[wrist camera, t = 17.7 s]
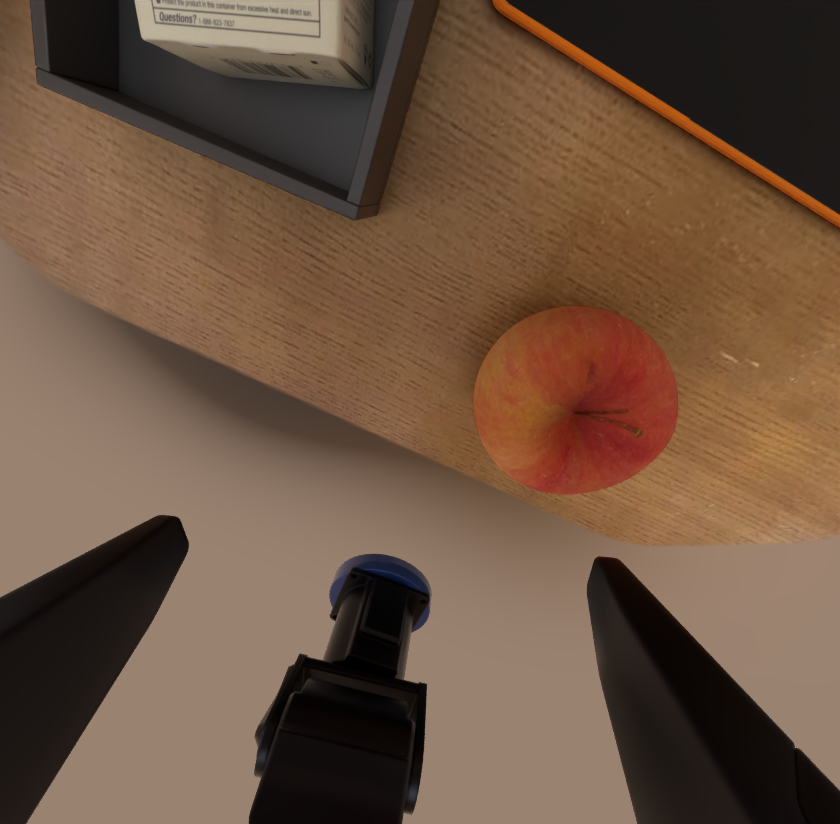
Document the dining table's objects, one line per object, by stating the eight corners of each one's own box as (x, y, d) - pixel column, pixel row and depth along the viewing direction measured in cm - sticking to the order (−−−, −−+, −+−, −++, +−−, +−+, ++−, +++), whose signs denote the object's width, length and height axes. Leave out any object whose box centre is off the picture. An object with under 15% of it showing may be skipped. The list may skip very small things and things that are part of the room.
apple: (443, 357, 20) (425, 444, 13) (570, 248, 17) (633, 287, 10) (534, 451, 22) (561, 571, 15) (663, 369, 19) (769, 470, 12)
